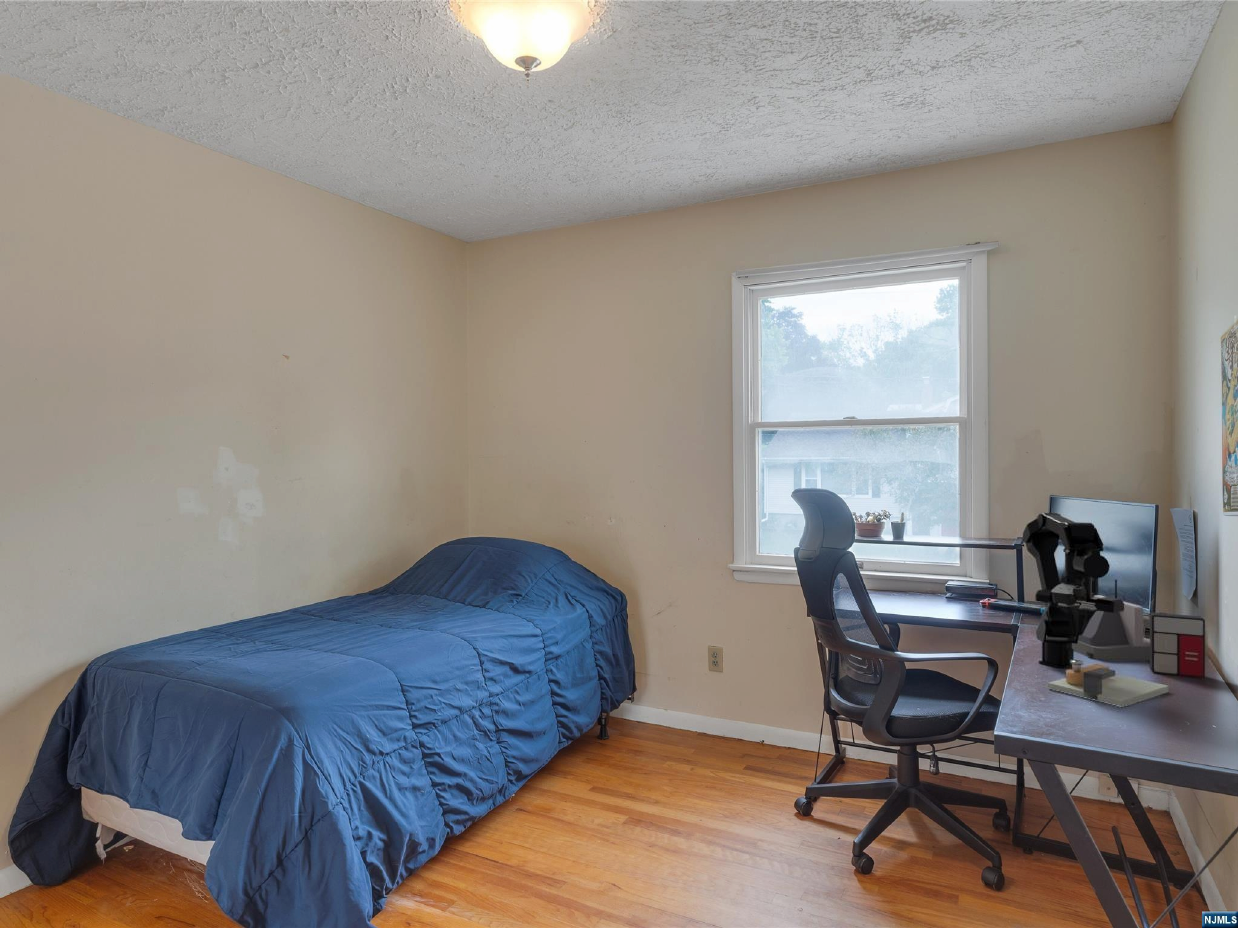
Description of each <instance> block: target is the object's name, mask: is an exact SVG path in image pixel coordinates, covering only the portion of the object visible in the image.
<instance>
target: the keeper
mask: <svg viewBox="0 0 1238 928" xmlns="http://www.w3.org/2000/svg"><path fill="white" fill-rule="evenodd" d="M1070 663H1072V666H1071V667H1072V669H1071V670H1073V671H1076V672H1081V668H1082V665H1084V661H1083V660H1080V659H1074V660H1070ZM1115 674H1116V670H1115V669H1112V668H1111V669H1110V668H1109V669H1106V668H1098V669H1094V670H1090V671H1087V672H1084V692H1085V693H1084V696H1085V694H1086V692H1087V694H1088V695H1089V694H1091V693H1092V694H1094V695H1097V696H1098V695H1099V694H1102V679H1106V678H1109V677H1113V676H1115ZM1087 694H1086V695H1087ZM1086 697H1088V696H1086ZM1092 697H1093V696H1092ZM1095 697H1096V696H1095ZM1097 698H1098V697H1097ZM1090 699H1091V698H1090ZM1094 699H1095V698H1094Z"/></svg>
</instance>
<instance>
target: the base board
mask: <svg viewBox="0 0 1238 928" xmlns="http://www.w3.org/2000/svg"><path fill="white" fill-rule="evenodd" d="M1048 688H1051V689H1054V690H1059V691H1063V692H1066V693H1071V694H1075V695H1078V696H1082V697H1086V696H1088V697H1087V698H1091V699H1094V698H1095V700H1097V701H1102V702H1107V703H1110V704H1115V705H1119V706H1121V707H1123V706H1126V705H1129V706H1131V704H1132V705H1135V704H1138V703H1141V702H1142V701H1146V700H1149V699H1153V698H1155V697H1158V696H1161V695H1164V694H1167V693H1169V685H1166V684H1161V683H1157V682H1153V681H1149V680H1143V679H1141V678H1140V679H1139V678H1135V677H1130V676H1125V675H1121V674H1117V673H1115V676H1113V677H1109V678H1106V679H1102V694H1099V695H1098V696H1097V695H1094V694H1092V693H1091V694H1089V695H1088V694H1087V692H1086V694H1087V695H1086V694H1085V696H1084V693H1085V692H1084V685H1074V684H1070V683H1067V682H1066V677H1063V678H1059V679H1057V680H1053V681H1050V682H1047V689H1048ZM1054 690H1053V691H1054ZM1066 693H1065V694H1066ZM1092 696H1093V697H1092ZM1095 696H1096V697H1095ZM1097 697H1098V698H1097ZM1097 701H1096V702H1097ZM1137 702H1138V703H1137ZM1134 703H1135V704H1134ZM1121 707H1120V708H1121ZM1126 707H1127V706H1126ZM1123 708H1124V707H1123Z"/></svg>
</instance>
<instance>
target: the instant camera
mask: <svg viewBox="0 0 1238 928" xmlns="http://www.w3.org/2000/svg"><path fill="white" fill-rule="evenodd" d="M1103 597H1105V596H1104V595H1102V594H1101V595H1099V594H1098V595H1094V597H1093V598H1092V599H1098V598H1103ZM1123 603H1124V611H1120V612H1115V613H1110V612H1104V611H1096V612H1095V613H1094V615H1093V616H1092V618H1091V619H1090V621H1089V623H1088V625H1087V627H1086V629H1085V631H1084V633H1083V635H1079V638H1078V643H1077V644H1074V643H1072V649H1073V650H1074V652H1076V653H1078V654H1080V655H1083V656H1085V657H1088V658H1091V659H1092V660H1096V661H1103V662H1104V661H1105V662H1107V661H1108V662H1109V661H1110V662H1113V661H1114V662H1117V661H1118V662H1126V661H1127V662H1141V661H1143V662H1145V661H1148V662H1150V638H1148V639H1147V638H1146V637H1145V638H1143V626H1144V608H1143V606H1141V605H1138V604H1134V603H1131V602H1126V601H1123ZM1079 605H1080V604H1079ZM1080 608H1082V606H1081V605H1080Z"/></svg>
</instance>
